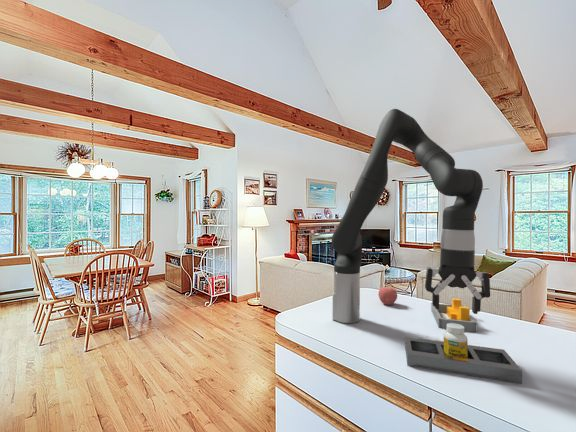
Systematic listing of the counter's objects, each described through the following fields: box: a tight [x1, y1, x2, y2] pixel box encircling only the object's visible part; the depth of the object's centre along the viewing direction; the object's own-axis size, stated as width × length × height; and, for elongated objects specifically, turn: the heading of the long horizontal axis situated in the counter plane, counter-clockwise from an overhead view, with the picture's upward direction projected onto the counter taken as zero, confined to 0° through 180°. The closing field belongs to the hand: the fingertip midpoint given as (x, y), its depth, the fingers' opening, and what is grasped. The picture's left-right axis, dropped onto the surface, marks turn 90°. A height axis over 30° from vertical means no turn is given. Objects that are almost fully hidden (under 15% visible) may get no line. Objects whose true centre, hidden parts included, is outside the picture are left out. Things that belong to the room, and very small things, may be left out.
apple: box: [378, 285, 398, 306], centre depth 125 cm, size 7×7×8 cm
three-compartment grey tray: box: [404, 336, 523, 385], centre depth 75 cm, size 24×11×3 cm, turn 71°
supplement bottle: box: [443, 323, 469, 358], centre depth 76 cm, size 5×5×10 cm
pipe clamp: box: [446, 297, 471, 321], centre depth 106 cm, size 12×4×6 cm, turn 164°
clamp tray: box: [430, 302, 477, 333], centre depth 106 cm, size 11×19×3 cm, turn 161°
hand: (455, 310), depth 75 cm, fingers open, 8 cm apart
